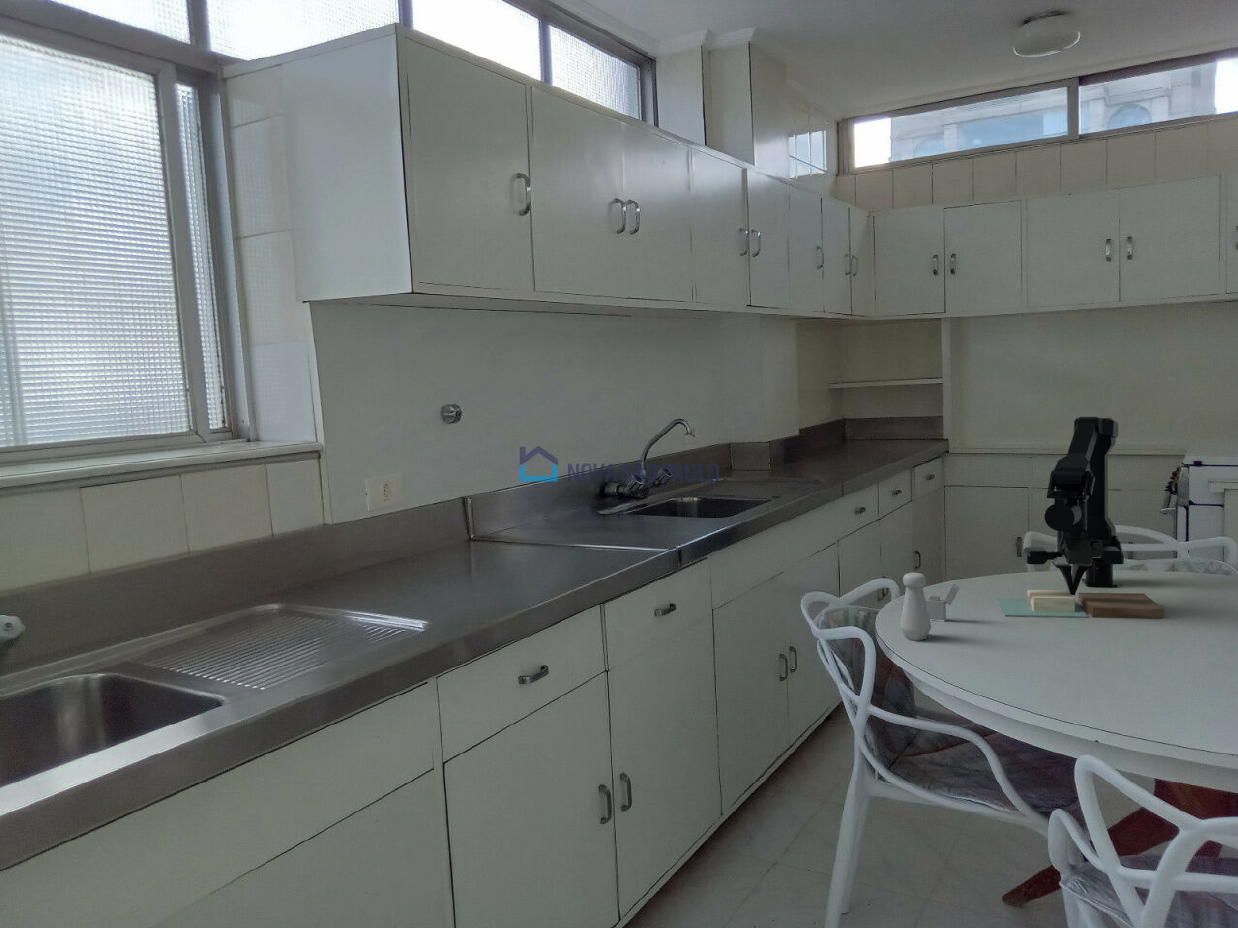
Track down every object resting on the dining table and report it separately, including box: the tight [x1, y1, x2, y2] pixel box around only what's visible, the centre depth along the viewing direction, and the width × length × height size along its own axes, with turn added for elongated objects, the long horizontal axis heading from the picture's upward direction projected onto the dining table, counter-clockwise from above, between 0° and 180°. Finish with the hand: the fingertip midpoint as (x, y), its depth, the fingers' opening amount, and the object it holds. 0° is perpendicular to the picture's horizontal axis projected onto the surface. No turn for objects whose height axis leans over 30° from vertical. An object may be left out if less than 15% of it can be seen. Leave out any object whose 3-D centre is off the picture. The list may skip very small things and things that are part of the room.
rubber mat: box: [995, 597, 1089, 619], centre depth 195 cm, size 14×16×1 cm
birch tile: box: [1027, 589, 1076, 612], centre depth 194 cm, size 7×8×3 cm
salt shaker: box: [900, 572, 932, 641], centre depth 178 cm, size 6×6×13 cm
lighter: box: [925, 583, 961, 620], centre depth 189 cm, size 7×2×8 cm, turn 57°
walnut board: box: [1078, 592, 1164, 620], centre depth 191 cm, size 13×13×2 cm
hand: (1072, 594), depth 193 cm, fingers closed
